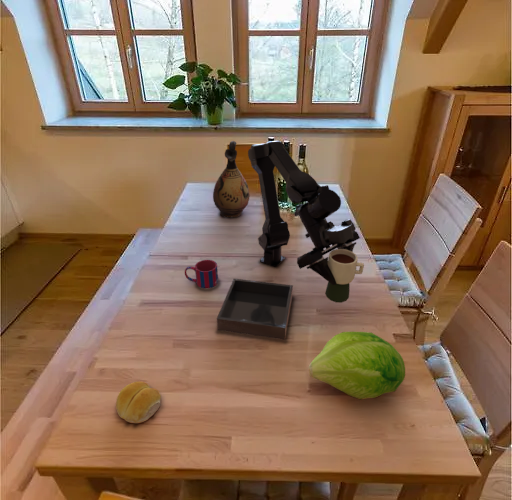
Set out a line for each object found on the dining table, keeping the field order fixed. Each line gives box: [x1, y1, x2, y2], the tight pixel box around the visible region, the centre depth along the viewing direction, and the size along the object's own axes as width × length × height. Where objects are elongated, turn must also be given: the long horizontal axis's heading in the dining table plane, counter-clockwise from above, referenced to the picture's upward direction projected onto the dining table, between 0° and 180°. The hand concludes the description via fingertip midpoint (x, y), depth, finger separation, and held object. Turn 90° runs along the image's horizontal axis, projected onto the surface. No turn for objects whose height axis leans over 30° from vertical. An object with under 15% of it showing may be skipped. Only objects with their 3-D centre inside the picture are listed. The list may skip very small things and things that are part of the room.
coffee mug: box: [324, 248, 365, 304], centre depth 91 cm, size 11×7×13 cm, turn 86°
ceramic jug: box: [212, 140, 251, 219], centre depth 146 cm, size 17×15×30 cm
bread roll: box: [115, 380, 162, 424], centre depth 73 cm, size 8×9×4 cm
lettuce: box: [308, 331, 406, 401], centre depth 75 cm, size 15×20×14 cm
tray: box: [216, 278, 294, 340], centre depth 97 cm, size 18×18×5 cm
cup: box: [184, 259, 219, 289], centre depth 109 cm, size 7×10×7 cm
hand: (344, 278), depth 90 cm, fingers closed on coffee mug, 7 cm apart
